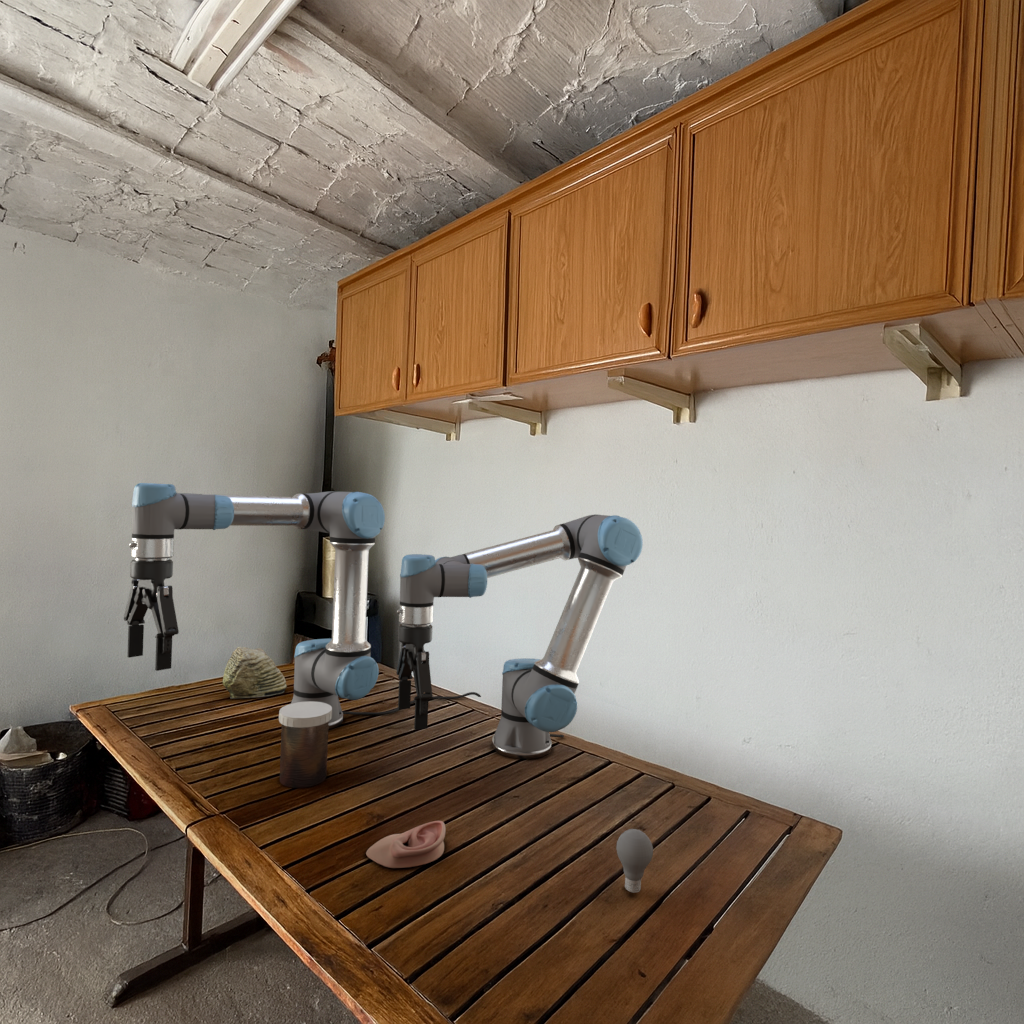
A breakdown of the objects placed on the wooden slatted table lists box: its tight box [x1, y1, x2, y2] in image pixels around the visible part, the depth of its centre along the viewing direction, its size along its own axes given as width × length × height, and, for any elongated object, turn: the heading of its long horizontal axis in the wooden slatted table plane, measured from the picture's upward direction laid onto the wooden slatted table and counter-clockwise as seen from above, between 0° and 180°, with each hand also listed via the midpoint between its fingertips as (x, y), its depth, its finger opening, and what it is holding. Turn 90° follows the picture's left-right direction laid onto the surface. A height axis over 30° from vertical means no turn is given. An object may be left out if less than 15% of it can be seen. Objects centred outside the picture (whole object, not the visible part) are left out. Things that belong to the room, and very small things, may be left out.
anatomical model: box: [365, 820, 447, 869], centre depth 114 cm, size 13×4×12 cm
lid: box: [278, 701, 332, 728], centre depth 142 cm, size 11×11×2 cm
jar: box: [279, 721, 329, 789], centre depth 142 cm, size 10×10×15 cm
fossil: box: [222, 646, 288, 699], centre depth 198 cm, size 9×18×15 cm, turn 132°
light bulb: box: [615, 828, 654, 894], centre depth 106 cm, size 6×6×10 cm
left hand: (148, 662), depth 129 cm, fingers open, 13 cm apart
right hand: (412, 718), depth 142 cm, fingers open, 13 cm apart
